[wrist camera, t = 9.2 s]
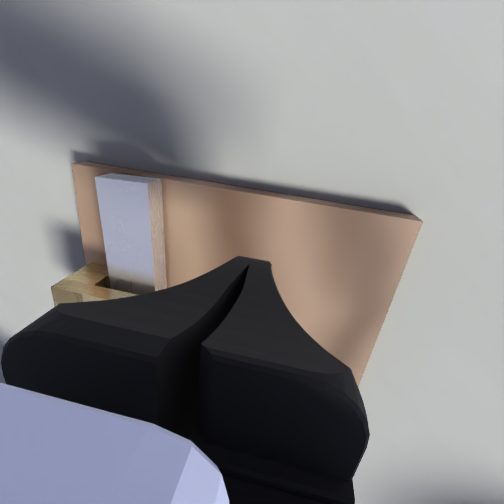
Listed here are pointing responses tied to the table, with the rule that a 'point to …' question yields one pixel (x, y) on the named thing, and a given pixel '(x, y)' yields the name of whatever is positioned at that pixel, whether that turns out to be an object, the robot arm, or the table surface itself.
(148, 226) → the grey link
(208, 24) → the table surface
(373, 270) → the base plate
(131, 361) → the robot arm
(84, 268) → the wooden block
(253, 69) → the table surface
